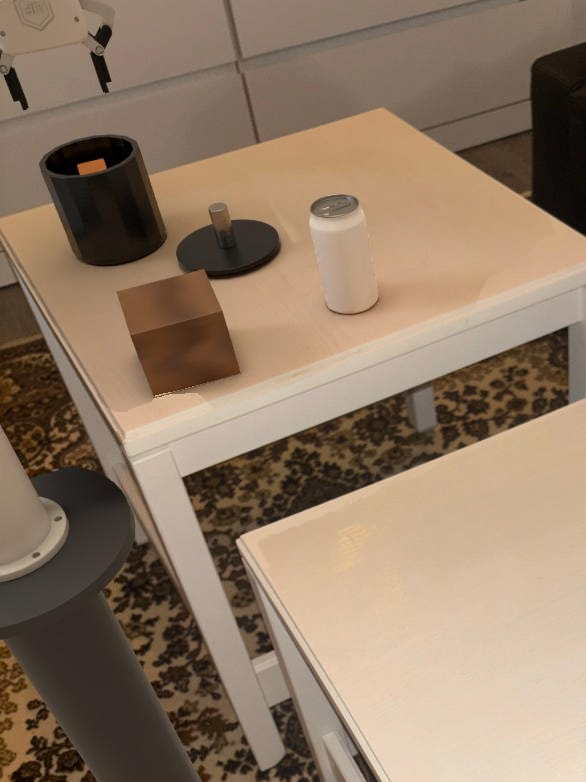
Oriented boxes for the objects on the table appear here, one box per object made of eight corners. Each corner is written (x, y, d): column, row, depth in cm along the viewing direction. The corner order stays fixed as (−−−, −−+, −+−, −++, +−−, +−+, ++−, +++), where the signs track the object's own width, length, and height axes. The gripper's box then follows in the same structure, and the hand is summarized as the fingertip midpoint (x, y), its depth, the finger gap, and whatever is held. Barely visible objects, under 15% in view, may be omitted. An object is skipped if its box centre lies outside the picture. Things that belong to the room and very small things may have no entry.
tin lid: (189, 289, 125) (174, 242, 120) (170, 243, 133) (155, 197, 129) (292, 262, 127) (281, 215, 123) (267, 218, 136) (256, 173, 131)
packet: (108, 252, 132) (83, 185, 125) (101, 230, 136) (76, 164, 129) (134, 246, 132) (110, 179, 126) (126, 224, 137) (103, 158, 130)
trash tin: (79, 273, 129) (44, 186, 121) (68, 232, 137) (34, 148, 129) (173, 250, 132) (145, 162, 123) (157, 211, 140) (130, 126, 131)
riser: (154, 398, 110) (129, 335, 104) (139, 353, 116) (116, 291, 110) (241, 374, 112) (222, 310, 105) (222, 331, 118) (203, 268, 112)
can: (316, 304, 120) (294, 207, 111) (357, 282, 123) (339, 186, 114) (348, 322, 117) (328, 224, 108) (390, 300, 120) (374, 202, 111)
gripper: (-77, -50, 103) (-6, 123, 115) (89, -78, 106) (141, 93, 119) (-78, -65, 107) (-10, 103, 120) (81, -92, 111) (131, 74, 124)
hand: (65, 98), depth 119 cm, fingers open, 9 cm apart
